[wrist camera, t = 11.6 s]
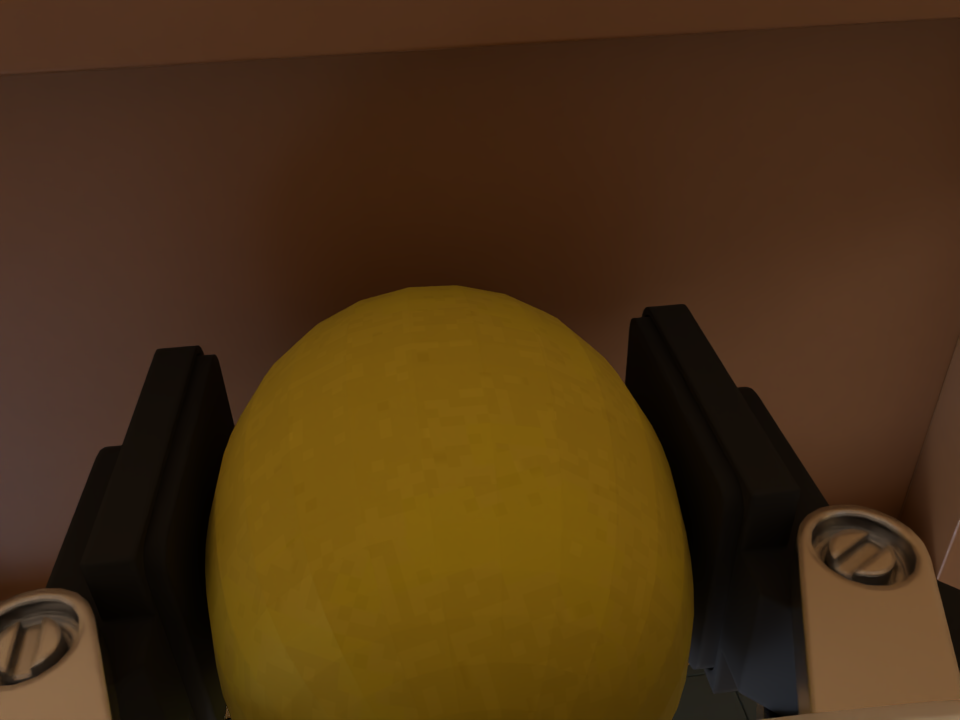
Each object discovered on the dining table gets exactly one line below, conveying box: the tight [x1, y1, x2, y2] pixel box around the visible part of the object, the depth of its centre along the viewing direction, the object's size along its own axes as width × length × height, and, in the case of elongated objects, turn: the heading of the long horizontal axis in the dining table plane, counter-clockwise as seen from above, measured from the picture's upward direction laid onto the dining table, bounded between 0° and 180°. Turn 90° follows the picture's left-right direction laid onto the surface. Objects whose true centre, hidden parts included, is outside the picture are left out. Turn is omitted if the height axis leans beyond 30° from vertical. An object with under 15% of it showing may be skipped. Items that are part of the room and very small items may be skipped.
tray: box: [0, 0, 960, 602], centre depth 14 cm, size 20×12×2 cm, turn 92°
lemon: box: [205, 285, 694, 720], centre depth 11 cm, size 6×6×8 cm
